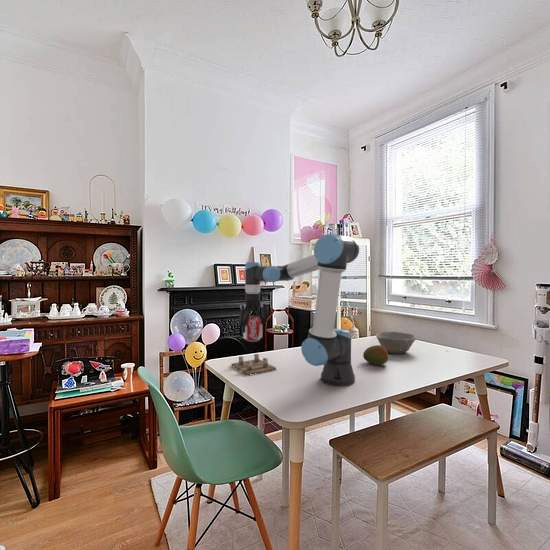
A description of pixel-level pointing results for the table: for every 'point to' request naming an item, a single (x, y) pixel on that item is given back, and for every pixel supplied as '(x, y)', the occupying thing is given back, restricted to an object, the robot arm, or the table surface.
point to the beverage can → (253, 328)
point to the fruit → (376, 355)
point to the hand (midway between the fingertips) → (252, 337)
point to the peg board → (253, 365)
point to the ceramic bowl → (396, 341)
